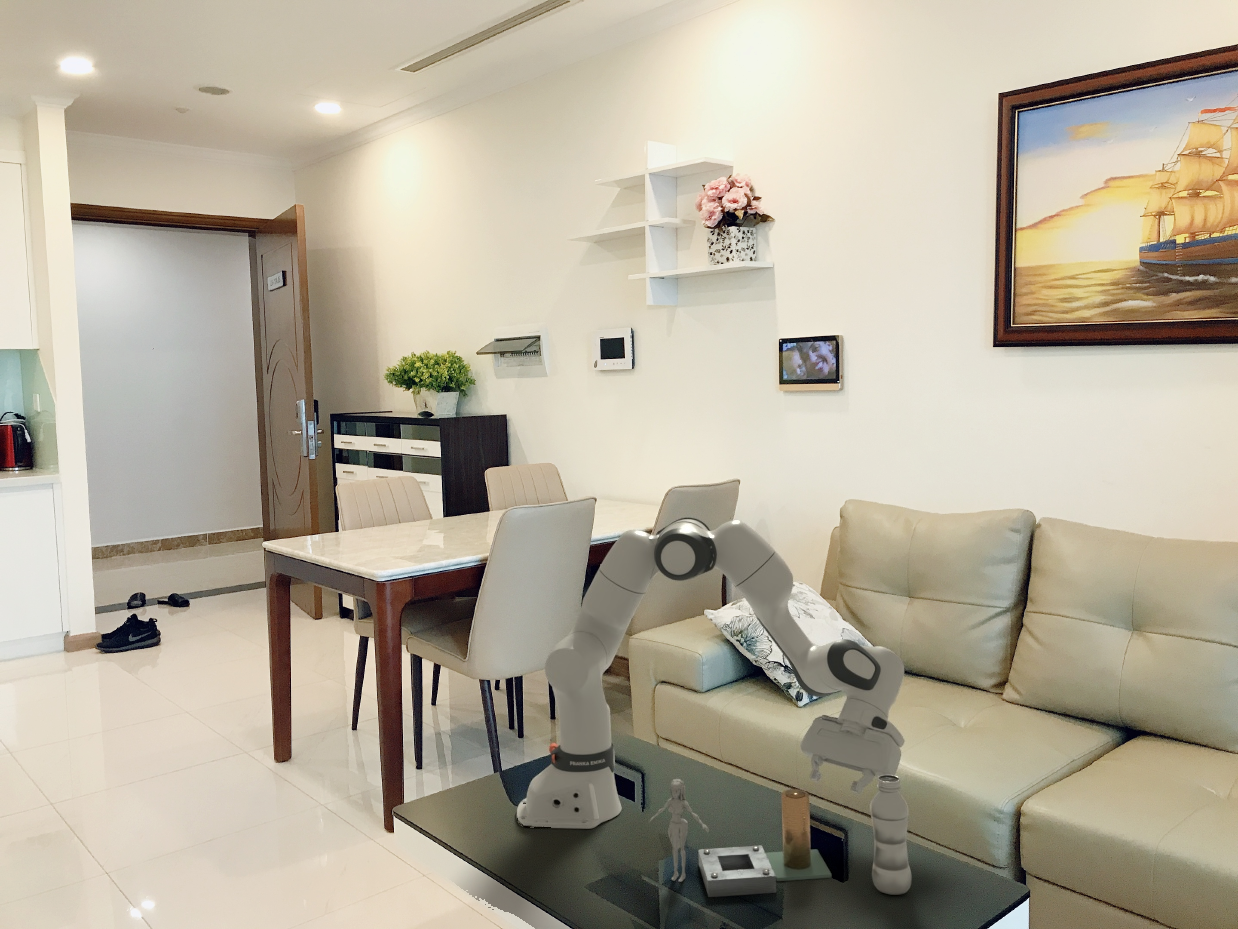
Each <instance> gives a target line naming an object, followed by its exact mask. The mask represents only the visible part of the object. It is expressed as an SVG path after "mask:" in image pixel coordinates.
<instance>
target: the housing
mask: <svg viewBox="0 0 1238 929" xmlns="http://www.w3.org/2000/svg"><path fill="white" fill-rule="evenodd" d="M697 852H698V866H699V870H700V873H701V877H702V879H703V883H704V887H705V889H706V893H707V897H708V898H714V897H715V898H716V897H717V898H718V897H728V896H729V897H730V896H733V897H734V896H745V895H748V896H749V895H758V894H772V893H773V894H775V893H777V880H776V876H775V873H774V871H773V869H772V867H771V865H770V862H769V860H768V858H767V856H766V854H765V853H766V852H765V850H764V848H763V845H747V846H733V847H720V848H719V847H717V848H702V849H698V851H697Z"/></svg>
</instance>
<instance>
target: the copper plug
mask: <svg viewBox="0 0 1238 929" xmlns="http://www.w3.org/2000/svg"><path fill="white" fill-rule="evenodd" d="M810 817H811V816H810V795H809V793H808V791H805V790H803V789H799V788H789V789H786V790H783V791H782V792H781V819H782V820H781V822H782V826H781V827H782V829H781V830H782V852H783V863H784V865H785V866H786V867H788V868H791V869H797V870H800V869H806V868H808V867H810V865H811V850H812V849H811V822H810V821H811V818H810Z"/></svg>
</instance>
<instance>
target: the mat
mask: <svg viewBox="0 0 1238 929" xmlns="http://www.w3.org/2000/svg"><path fill="white" fill-rule="evenodd" d="M810 850H811V865H810V867H808V868H806V869H800V870H797V869H791V868H788V867H786V866H785V865H784V863H783V851H771V852H765V854H766V856H767V858H768V860H769V862H770V865H771V867H772V869H773V871H774V873H775V876H776V882H783V881H797V880H798V881H799V880H800V881H801V880H813V879H814V880H815V879H817V880H818V879H829V878H830V879H832V873H831V871H830V869H829V868H828V866H827V864H826V862H825V861H824V859H823V857H822V855H821V854H820V852H819V850H818V848H817V849H810Z"/></svg>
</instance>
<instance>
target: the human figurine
mask: <svg viewBox="0 0 1238 929" xmlns="http://www.w3.org/2000/svg"><path fill="white" fill-rule="evenodd" d="M669 793H670V798H668V799H667V801H666V803H665V804H664V805H663V807H662V808H659V809H658V811H657V812H656V814H654V815H653V816H652V817H651V818H650V819H649V821H648V822H647V823H651V822H652V821H653V820H654V819H655V818H656V817H657V816H659V815H660V814H661V813H662V814H663V812H664V811H665V810H666V808H668V812H669V813H670V814H671V816H672V817H671V818H670V820H669V825H668V829H667V833H668V835H667V836H668V838H669V841H670V843H671V848H672V850H671V853H672V856H673V857H672V858H673V868H674V869H673V871H674V872H673V876H672V877H671V881H674V882H675V881H677V879H678V877H679V872H678V869H679V868H678V864H679V852H680V856H681V869H682V870H681V874H680V877H679V879H678V882H679V883H682V882H683V881H684V880H685V879H686V861H687V860H686V851H685V845H686V841H687V837H688V830H689V824H688V820H686V819H685V818H682V813H683V812H685V811H684V810H686V811H688V812H689V813H690V815H691V816H692V817H693V818H694V820H696V822H698V823H699V824H700V825H701V827H702V830H703V831H704V830H705V831H706V833H707V834H709V833H710V828H709V827H708V826H707V825H706V824H705V823H703V821H702V820H701V819H700V817H699V815H698V814H697V813H694V812H693V809H692V808H691V807H690V805H689V802H688V801H687V800H686V799H687V798H686V785H685V782H684V780H682V779H680V778H674V779H671V781H670V791H669ZM679 849H680V851H679Z"/></svg>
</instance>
